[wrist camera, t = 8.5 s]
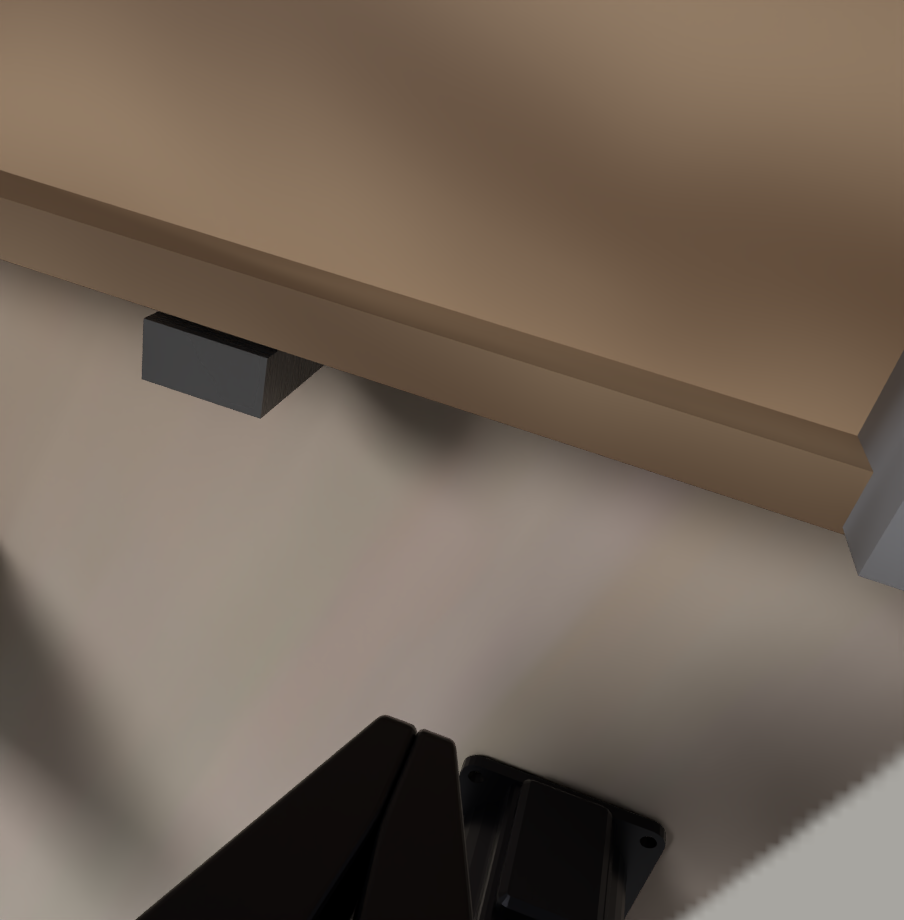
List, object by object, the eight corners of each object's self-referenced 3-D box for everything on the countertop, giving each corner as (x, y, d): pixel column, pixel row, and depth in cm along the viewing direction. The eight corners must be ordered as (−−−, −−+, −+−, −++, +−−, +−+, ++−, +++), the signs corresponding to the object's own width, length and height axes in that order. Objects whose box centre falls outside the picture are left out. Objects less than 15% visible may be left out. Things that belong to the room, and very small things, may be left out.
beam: (1021, 548, 13) (1127, 703, 10) (-381, 100, 16) (-632, 108, 13) (1501, -123, 8) (1970, -233, 5) (-554, -536, 12) (-989, -744, 9)
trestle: (480, 358, 19) (405, 466, 14) (182, 264, 20) (8, 334, 15) (654, -319, 13) (636, -563, 8) (219, -406, 14) (-49, -675, 9)
